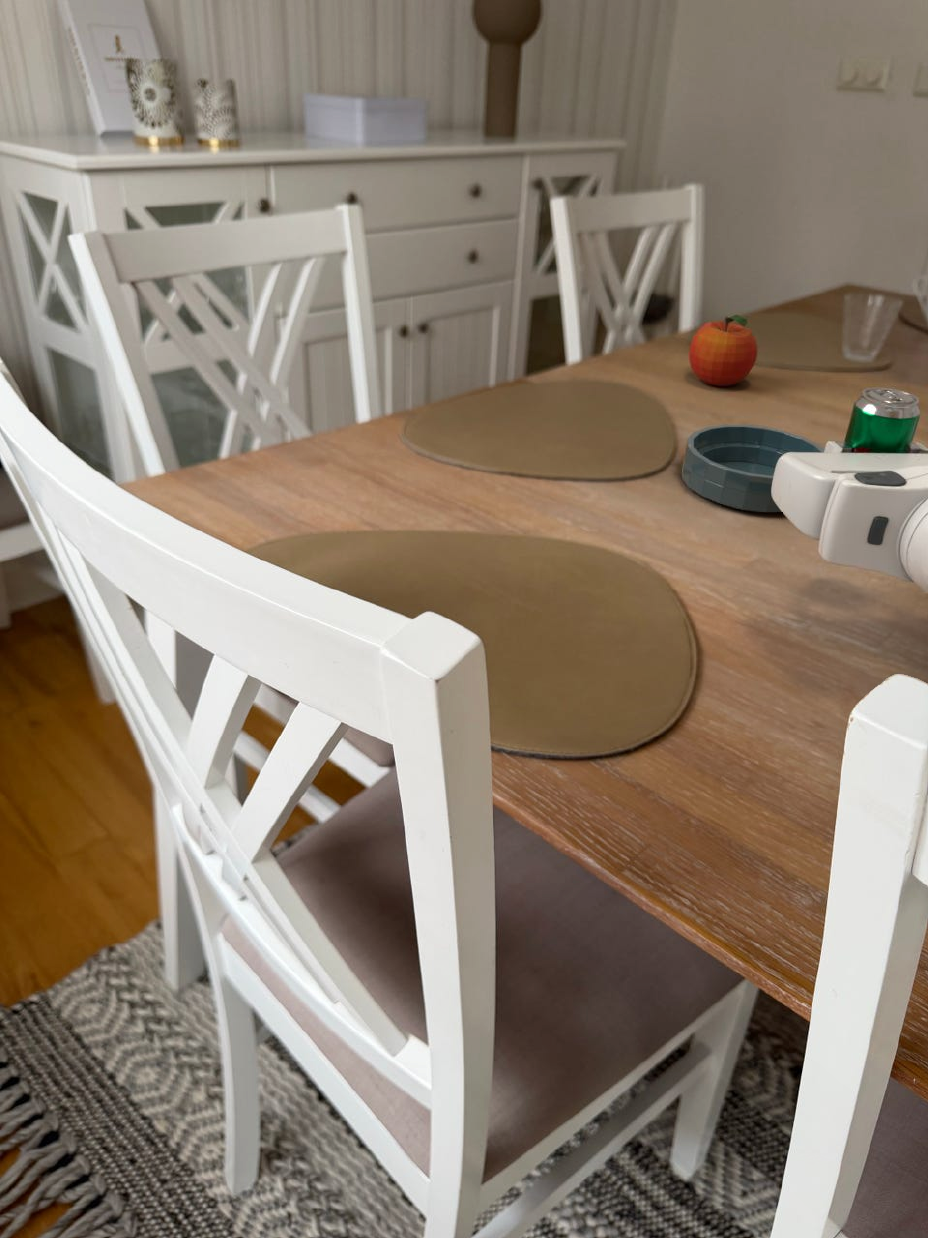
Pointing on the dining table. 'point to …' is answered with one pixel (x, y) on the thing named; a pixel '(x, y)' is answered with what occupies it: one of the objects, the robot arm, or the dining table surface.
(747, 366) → the fruit
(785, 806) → the dining table surface
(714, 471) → the bowl
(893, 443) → the soda can
